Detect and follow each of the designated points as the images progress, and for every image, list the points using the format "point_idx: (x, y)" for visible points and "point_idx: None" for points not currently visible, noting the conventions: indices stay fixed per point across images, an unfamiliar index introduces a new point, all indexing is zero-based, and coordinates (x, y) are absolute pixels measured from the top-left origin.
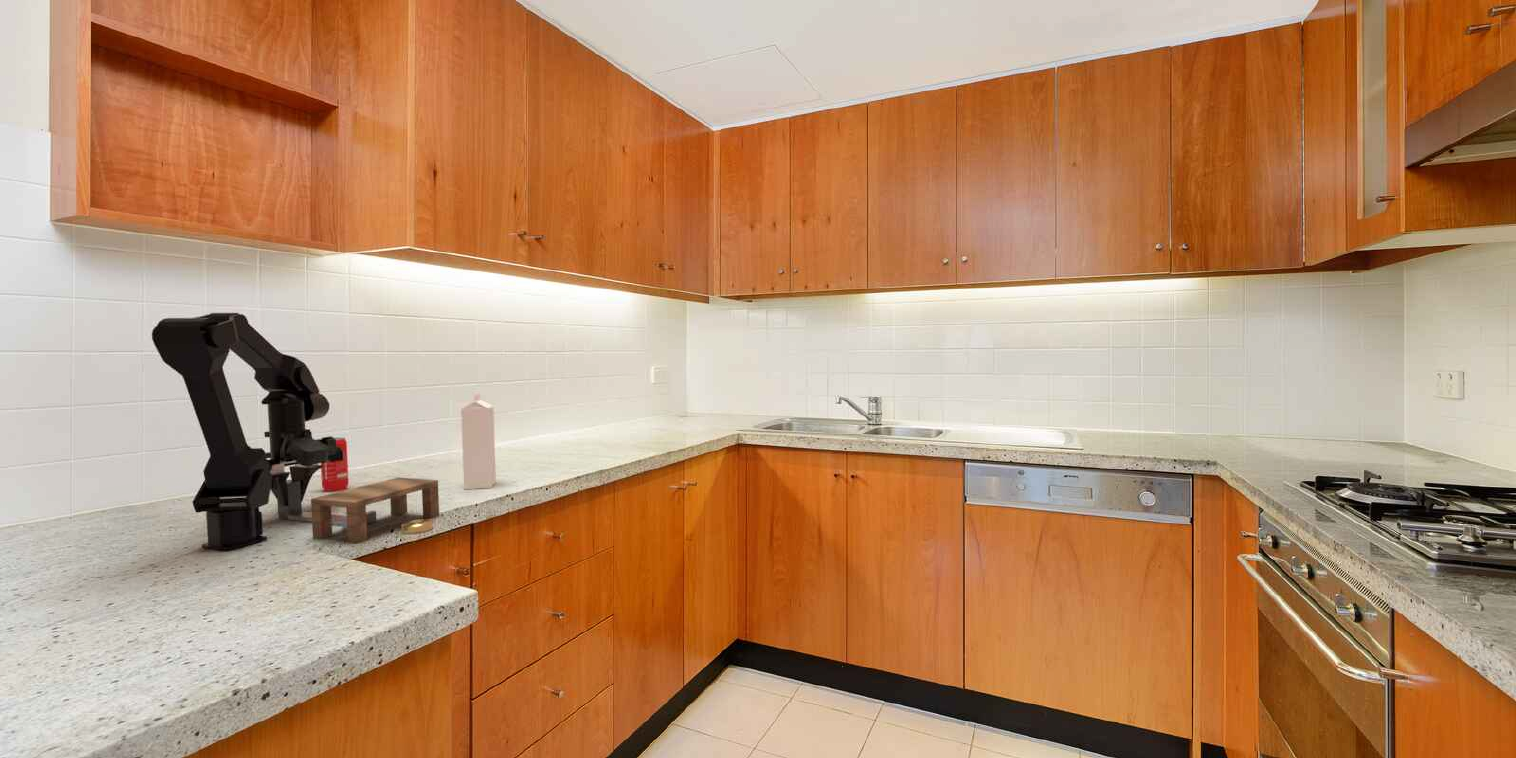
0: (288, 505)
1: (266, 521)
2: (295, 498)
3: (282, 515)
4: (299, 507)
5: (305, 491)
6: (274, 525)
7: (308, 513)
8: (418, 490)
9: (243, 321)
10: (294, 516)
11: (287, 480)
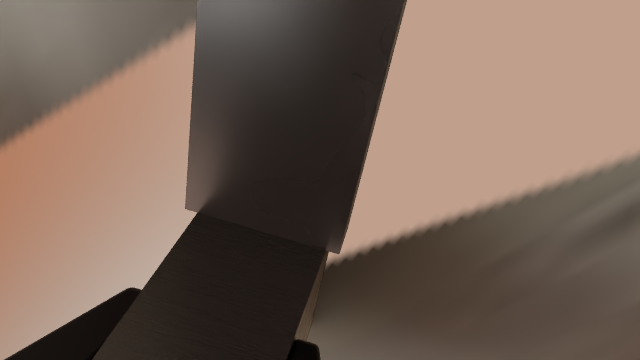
0: (298, 324)
1: (407, 355)
2: (185, 347)
3: (312, 310)
4: (198, 249)
5: (18, 353)
6: (554, 218)
7: (240, 95)
8: None
9: None
10: (360, 169)
11: None
